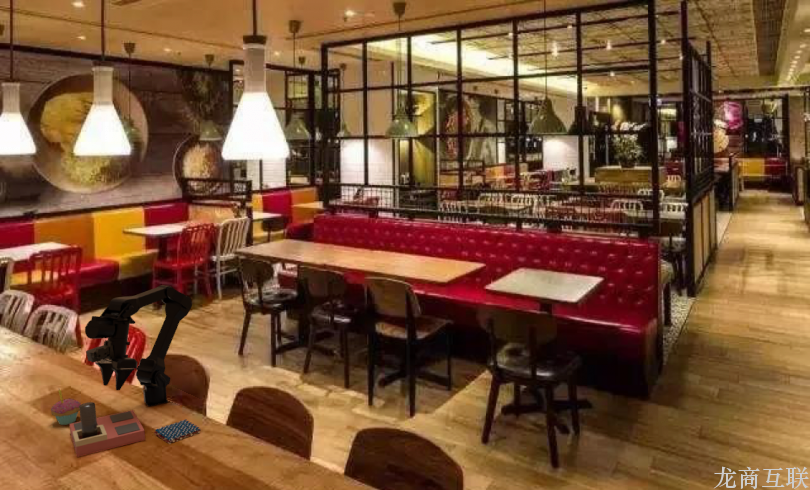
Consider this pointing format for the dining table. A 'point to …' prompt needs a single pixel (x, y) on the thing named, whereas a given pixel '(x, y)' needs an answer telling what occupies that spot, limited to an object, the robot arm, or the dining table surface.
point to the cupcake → (65, 410)
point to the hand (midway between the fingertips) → (111, 387)
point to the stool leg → (88, 420)
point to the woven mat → (177, 431)
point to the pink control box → (108, 433)
